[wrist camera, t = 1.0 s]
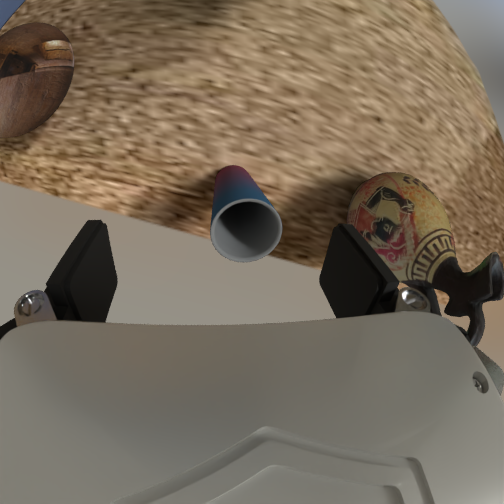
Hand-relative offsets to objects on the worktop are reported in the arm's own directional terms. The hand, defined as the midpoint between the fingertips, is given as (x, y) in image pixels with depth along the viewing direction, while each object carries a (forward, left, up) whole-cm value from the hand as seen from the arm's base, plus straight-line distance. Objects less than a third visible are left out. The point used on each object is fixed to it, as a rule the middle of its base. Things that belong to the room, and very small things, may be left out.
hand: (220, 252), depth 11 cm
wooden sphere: (+13, -24, -29) cm, 39 cm away
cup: (+1, +7, -28) cm, 29 cm away
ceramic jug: (-16, +23, -28) cm, 40 cm away
